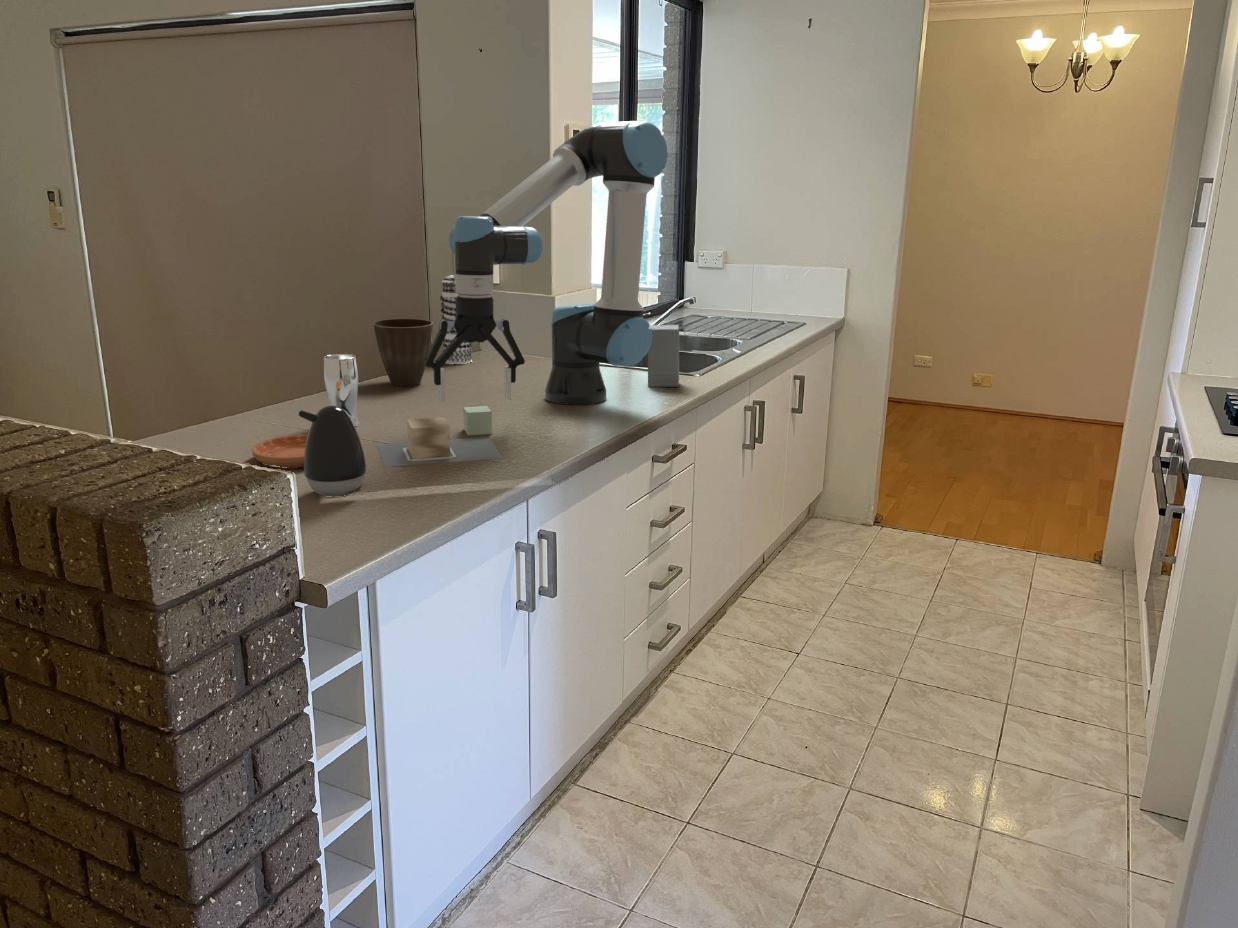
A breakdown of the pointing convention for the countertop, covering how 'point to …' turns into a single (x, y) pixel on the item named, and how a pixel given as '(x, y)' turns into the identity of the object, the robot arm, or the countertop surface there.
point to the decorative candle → (449, 310)
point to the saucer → (281, 451)
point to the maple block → (428, 438)
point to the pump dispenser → (333, 453)
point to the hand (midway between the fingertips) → (475, 399)
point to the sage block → (477, 420)
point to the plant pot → (404, 348)
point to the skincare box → (664, 356)
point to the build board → (458, 453)
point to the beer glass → (342, 383)
